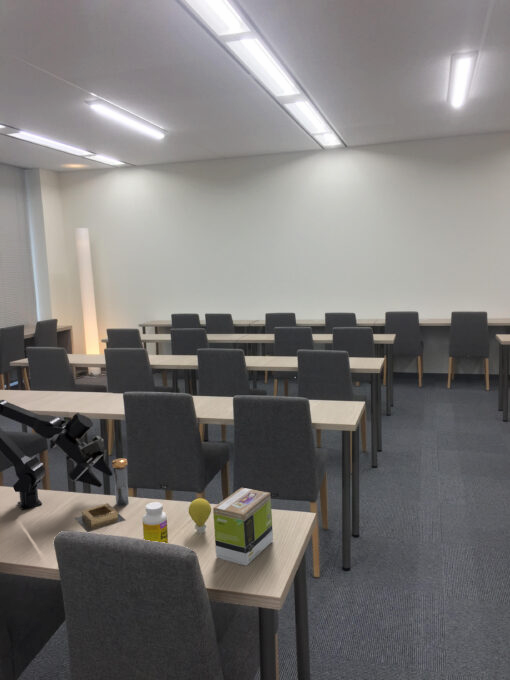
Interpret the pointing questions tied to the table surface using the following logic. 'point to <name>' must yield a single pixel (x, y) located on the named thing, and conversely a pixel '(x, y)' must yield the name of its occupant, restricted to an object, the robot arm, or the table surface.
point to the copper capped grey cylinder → (120, 481)
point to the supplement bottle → (155, 523)
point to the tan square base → (99, 517)
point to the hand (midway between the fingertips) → (106, 480)
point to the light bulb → (200, 513)
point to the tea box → (243, 525)
